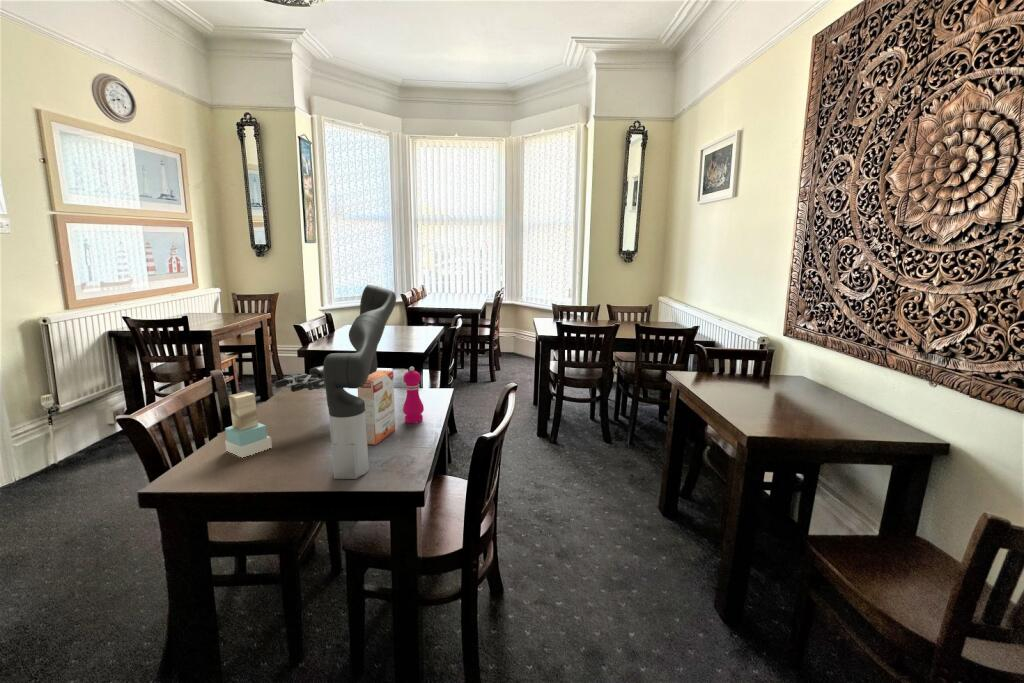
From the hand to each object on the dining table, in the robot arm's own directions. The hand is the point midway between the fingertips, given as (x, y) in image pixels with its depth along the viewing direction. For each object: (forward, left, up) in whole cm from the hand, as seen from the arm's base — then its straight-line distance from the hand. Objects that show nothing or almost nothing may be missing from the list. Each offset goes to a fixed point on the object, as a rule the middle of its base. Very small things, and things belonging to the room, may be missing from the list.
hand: (283, 386), depth 150 cm
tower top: (-11, +7, -14) cm, 18 cm away
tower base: (-10, +7, -18) cm, 21 cm away
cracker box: (+1, -30, -17) cm, 34 cm away
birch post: (-10, +7, -9) cm, 16 cm away
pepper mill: (+16, -38, -17) cm, 44 cm away
